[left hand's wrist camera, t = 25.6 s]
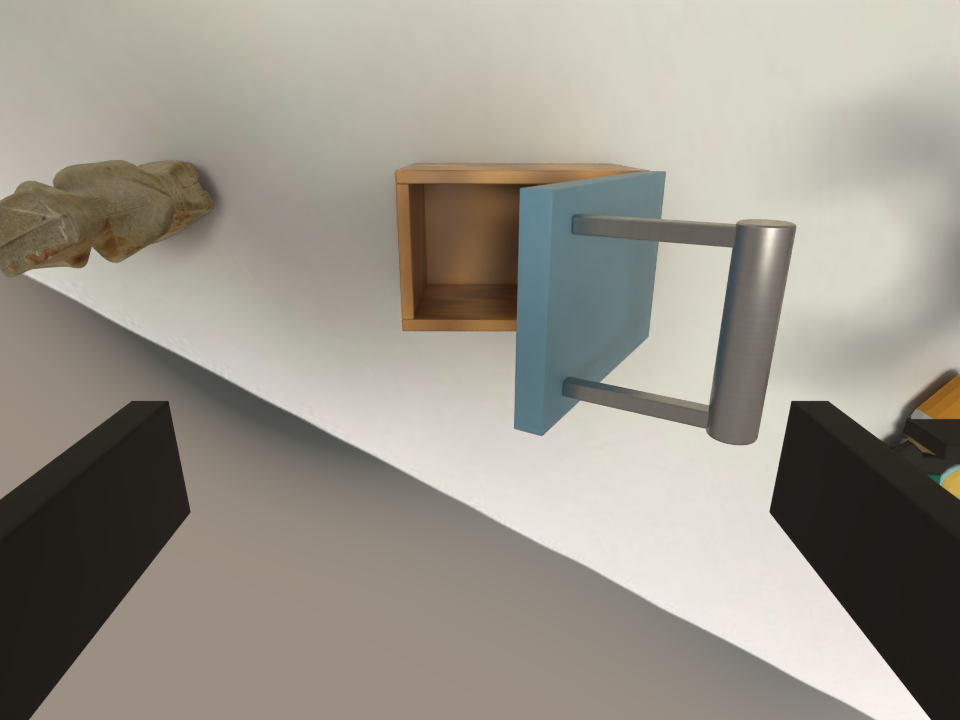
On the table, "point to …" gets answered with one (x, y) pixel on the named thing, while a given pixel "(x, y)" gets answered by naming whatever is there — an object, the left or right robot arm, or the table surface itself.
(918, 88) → the table surface
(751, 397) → the lid
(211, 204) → the sculpture
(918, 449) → the spray gun
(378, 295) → the table surface
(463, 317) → the chest
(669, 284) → the table surface
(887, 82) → the table surface
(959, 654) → the left robot arm
